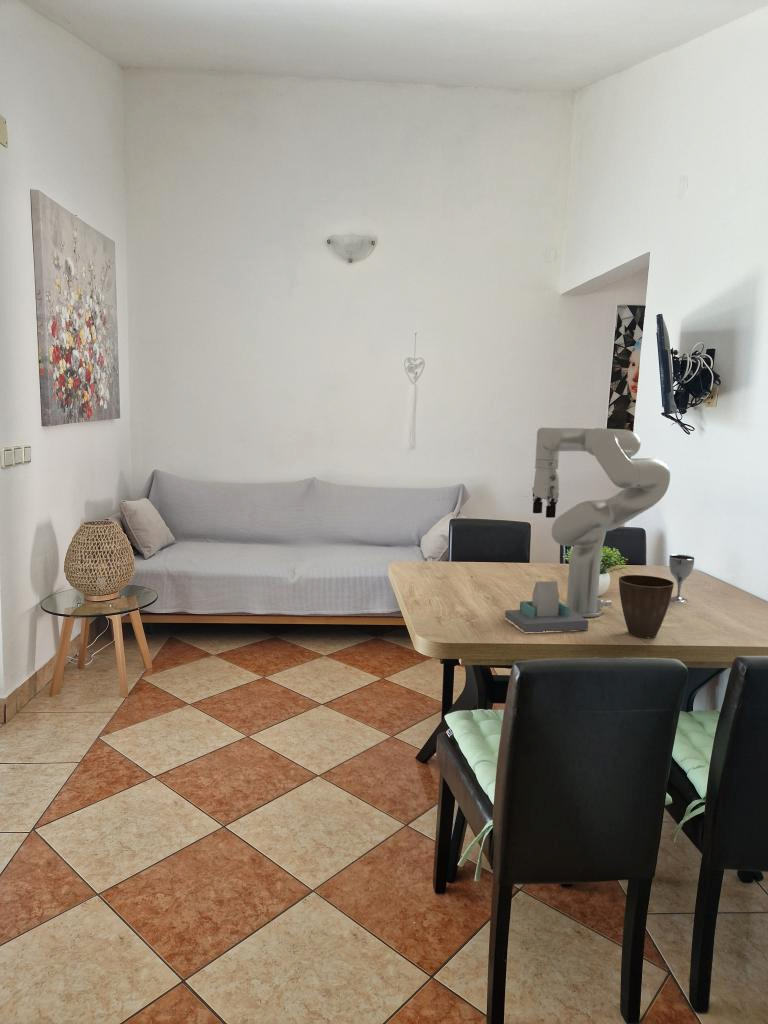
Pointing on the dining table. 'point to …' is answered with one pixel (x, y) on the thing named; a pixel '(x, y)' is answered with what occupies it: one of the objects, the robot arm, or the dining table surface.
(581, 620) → the dock
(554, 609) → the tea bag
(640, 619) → the plant pot
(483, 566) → the dining table surface
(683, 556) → the wine glass
